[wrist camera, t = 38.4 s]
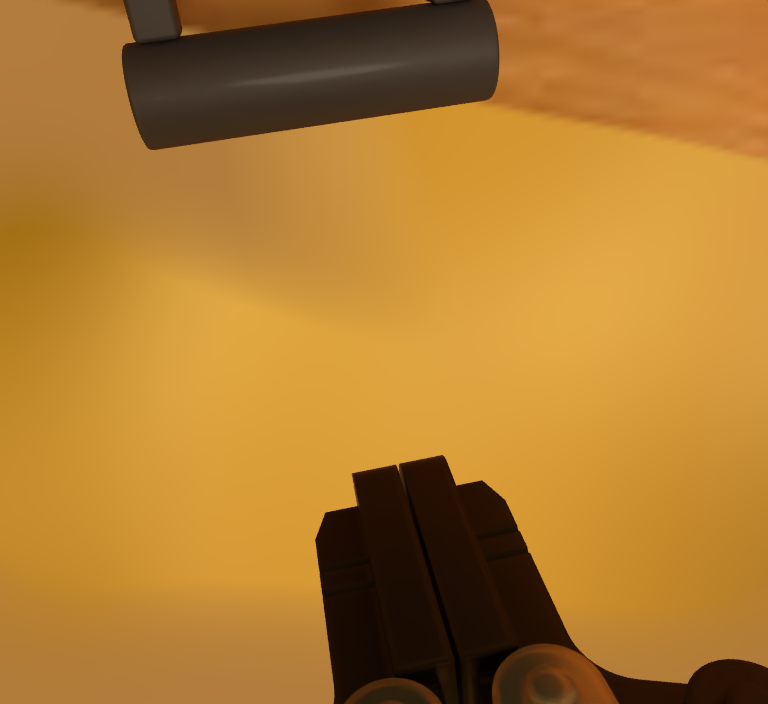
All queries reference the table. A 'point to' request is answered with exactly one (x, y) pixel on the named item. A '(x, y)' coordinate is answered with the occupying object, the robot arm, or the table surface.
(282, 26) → the drawer
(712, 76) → the table surface
